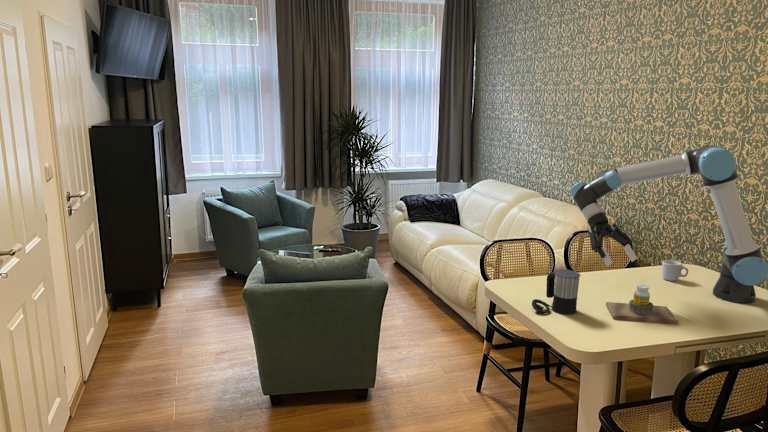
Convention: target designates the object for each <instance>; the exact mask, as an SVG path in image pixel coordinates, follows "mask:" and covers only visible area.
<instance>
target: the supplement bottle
mask: <svg viewBox="0 0 768 432" xmlns="http://www.w3.org/2000/svg"><path fill="white" fill-rule="evenodd" d="M650 296H651V294H650V292H649V285H645V284H637V285H636V290H634V292H633V299H632V300H633V304H636V305H639V306H649V302H650V298H651V297H650Z"/></svg>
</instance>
